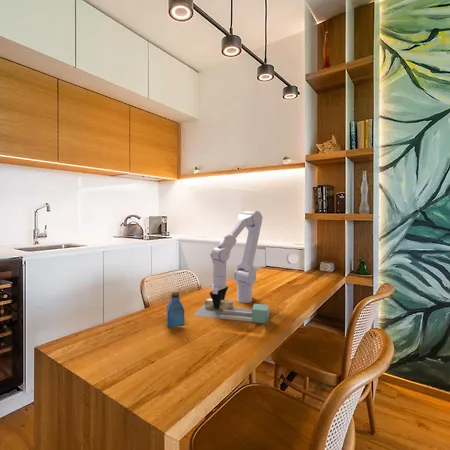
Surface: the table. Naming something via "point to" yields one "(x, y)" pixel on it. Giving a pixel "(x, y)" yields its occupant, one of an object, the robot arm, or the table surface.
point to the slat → (223, 304)
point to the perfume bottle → (175, 311)
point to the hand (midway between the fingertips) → (219, 305)
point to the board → (238, 313)
